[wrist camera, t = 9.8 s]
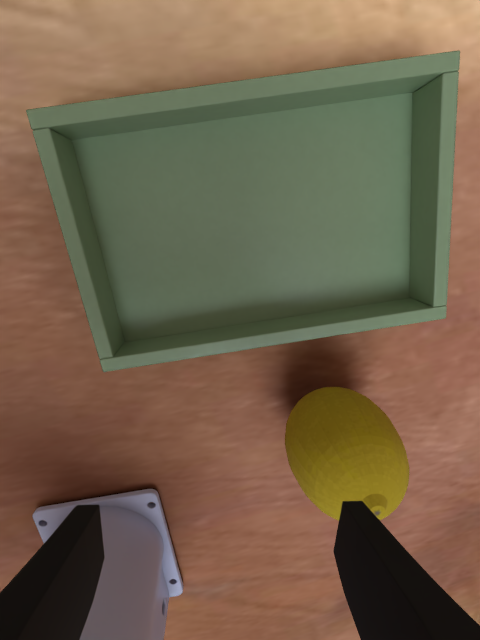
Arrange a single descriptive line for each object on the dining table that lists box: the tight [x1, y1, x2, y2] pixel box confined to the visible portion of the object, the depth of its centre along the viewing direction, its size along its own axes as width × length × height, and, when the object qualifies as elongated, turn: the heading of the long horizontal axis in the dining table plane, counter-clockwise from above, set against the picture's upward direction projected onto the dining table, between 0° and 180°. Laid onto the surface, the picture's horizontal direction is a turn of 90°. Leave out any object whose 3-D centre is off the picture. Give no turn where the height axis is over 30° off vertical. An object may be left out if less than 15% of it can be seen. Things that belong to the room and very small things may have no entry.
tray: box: [26, 51, 460, 372], centre depth 16 cm, size 11×17×3 cm, turn 98°
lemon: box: [285, 387, 409, 520], centre depth 17 cm, size 6×6×8 cm
